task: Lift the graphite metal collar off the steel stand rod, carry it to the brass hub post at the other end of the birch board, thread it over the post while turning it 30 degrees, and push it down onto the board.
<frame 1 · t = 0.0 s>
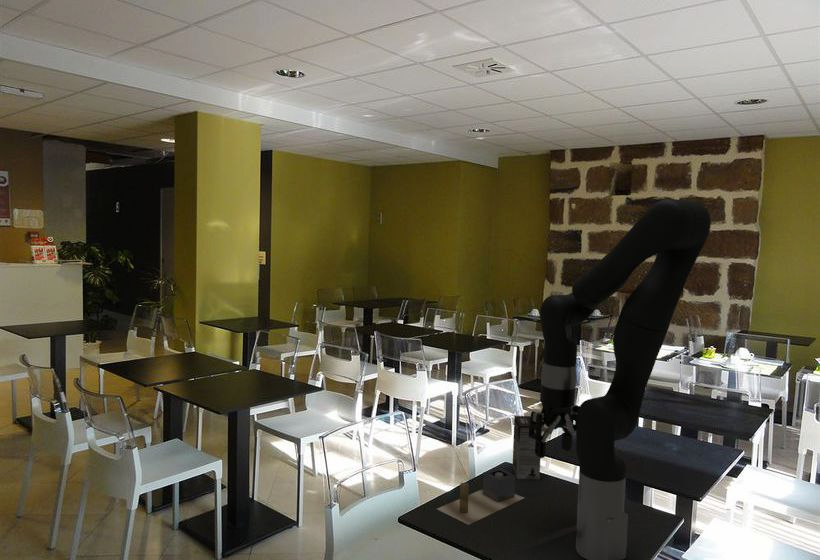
hand: (553, 453, 134), 17 cm above the table, tool pointing down, fingers open, 8 cm apart
collar: (498, 495, 147), point 1 cm above the table, touching board
coffee box: (525, 478, 163), on the table
board: (481, 509, 143), on the table
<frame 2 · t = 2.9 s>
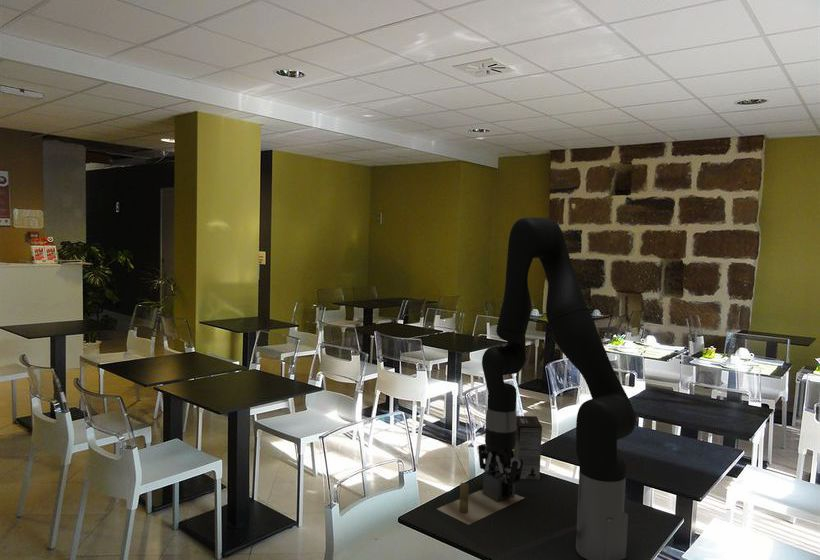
hand: (498, 492, 147), 2 cm above the table, tool pointing down, fingers closed on collar, 5 cm apart
collar: (498, 495, 147), point 2 cm above the table, touching board, gripper
everything else where it was.
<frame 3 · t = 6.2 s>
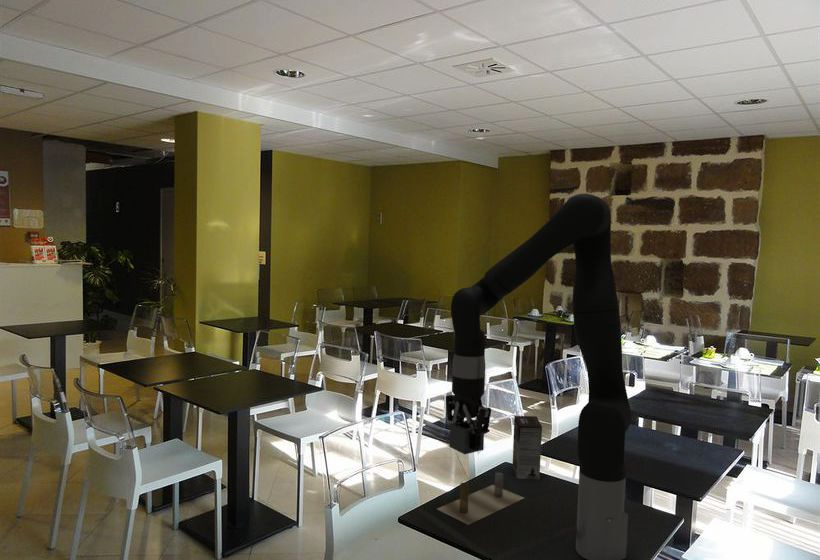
hand: (466, 444, 138), 17 cm above the table, tool pointing down, fingers closed on collar, 5 cm apart
collar: (466, 448, 138), point 17 cm above the table, touching gripper
everything else where it was.
when the fingers open (2 cm above the table, at t = 9.8 s): collar stays where it is, resting on board.
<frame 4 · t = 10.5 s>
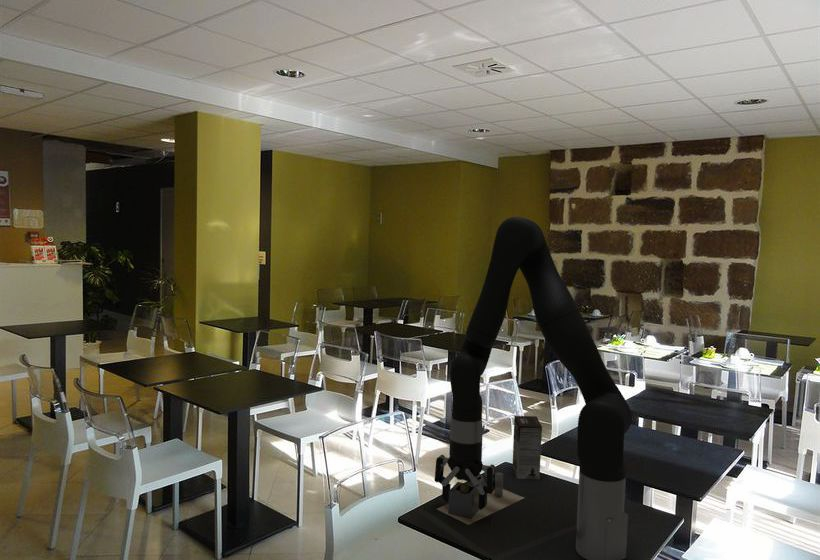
hand: (463, 504, 138), 3 cm above the table, tool pointing down, fingers open, 8 cm apart
collar: (464, 511, 139), point 1 cm above the table, touching board
everything else where it was.
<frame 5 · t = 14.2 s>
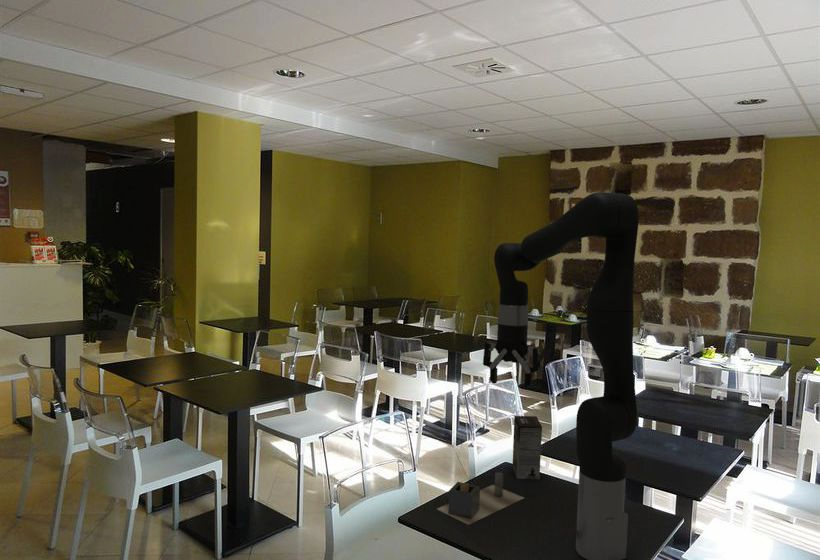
hand: (510, 385, 151), 28 cm above the table, tool pointing down, fingers open, 8 cm apart
nothing on the table moved.
at the end: collar 0.1 cm from the target spot on the board, point 1.5 cm above the board's base; collar tilted 0°; the gripper is holding nothing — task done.
